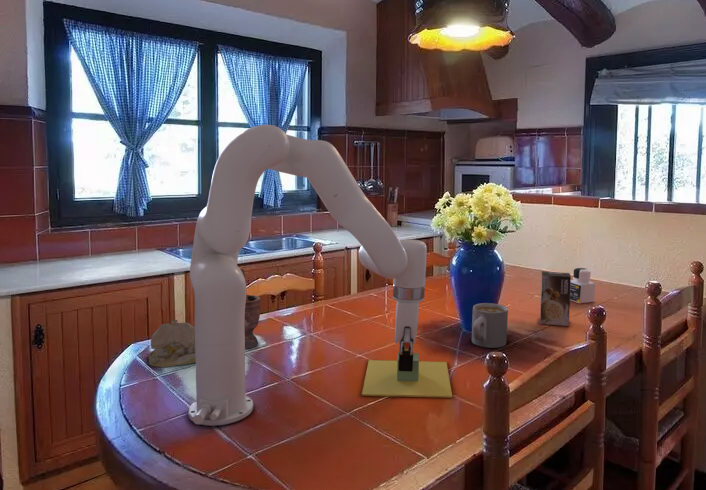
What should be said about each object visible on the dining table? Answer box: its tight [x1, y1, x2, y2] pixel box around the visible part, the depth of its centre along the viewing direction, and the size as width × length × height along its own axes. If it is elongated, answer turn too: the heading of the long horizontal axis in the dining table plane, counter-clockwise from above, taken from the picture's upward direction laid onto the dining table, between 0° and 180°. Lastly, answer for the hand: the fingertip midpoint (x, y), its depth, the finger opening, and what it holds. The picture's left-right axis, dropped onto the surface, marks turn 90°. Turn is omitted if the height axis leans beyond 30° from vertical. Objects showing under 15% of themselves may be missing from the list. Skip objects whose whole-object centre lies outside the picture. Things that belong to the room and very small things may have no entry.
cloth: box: [361, 359, 453, 399], centre depth 133 cm, size 20×20×1 cm
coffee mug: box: [471, 302, 509, 349], centre depth 158 cm, size 13×10×10 cm
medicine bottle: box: [570, 267, 596, 304], centre depth 207 cm, size 7×7×12 cm
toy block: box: [397, 352, 420, 381], centre depth 133 cm, size 5×5×5 cm
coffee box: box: [539, 270, 572, 327], centre depth 179 cm, size 9×6×16 cm
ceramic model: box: [147, 319, 196, 368], centre depth 141 cm, size 14×11×10 cm
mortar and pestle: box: [240, 268, 261, 350], centre depth 153 cm, size 12×9×20 cm
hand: (405, 362), depth 132 cm, fingers open, 9 cm apart
